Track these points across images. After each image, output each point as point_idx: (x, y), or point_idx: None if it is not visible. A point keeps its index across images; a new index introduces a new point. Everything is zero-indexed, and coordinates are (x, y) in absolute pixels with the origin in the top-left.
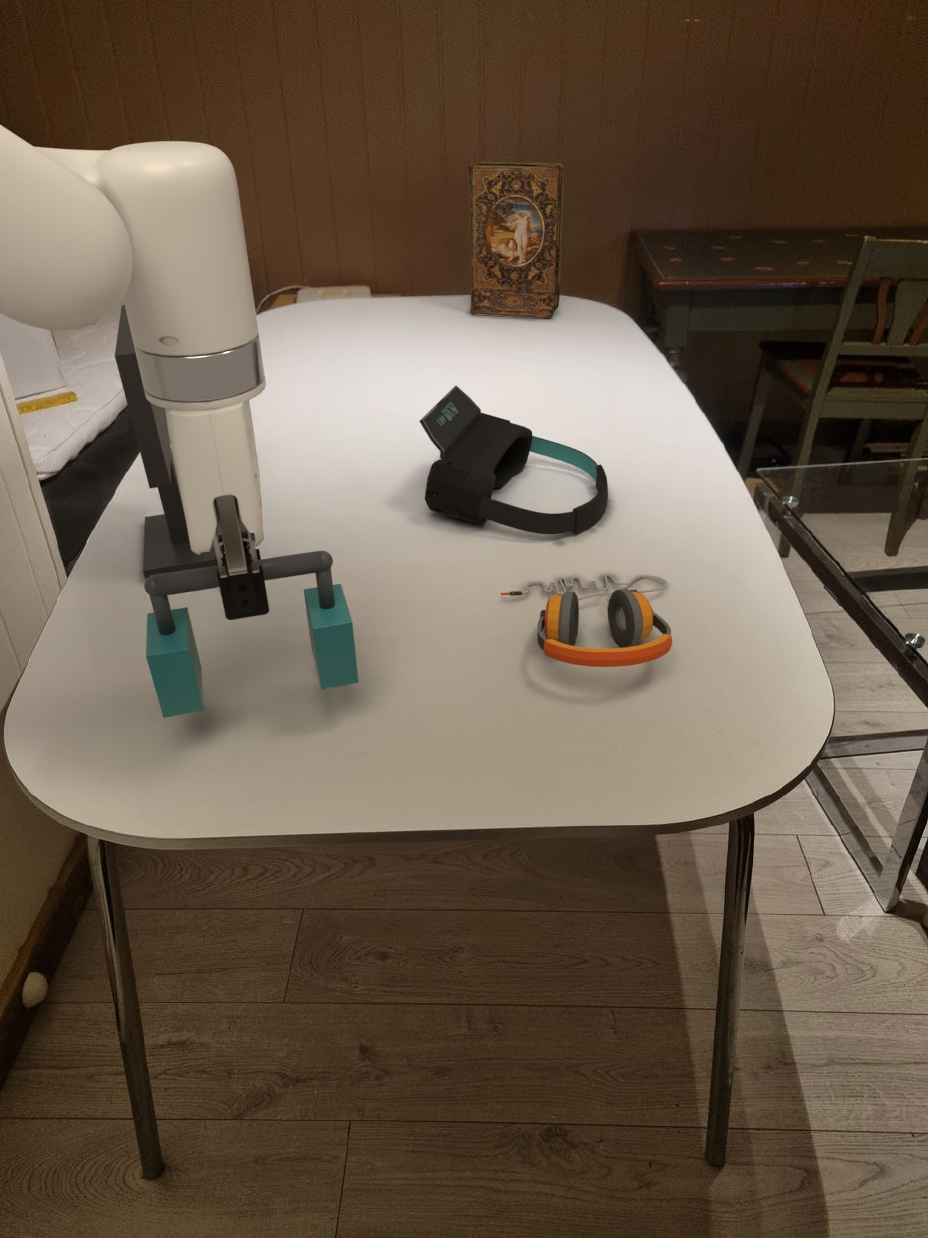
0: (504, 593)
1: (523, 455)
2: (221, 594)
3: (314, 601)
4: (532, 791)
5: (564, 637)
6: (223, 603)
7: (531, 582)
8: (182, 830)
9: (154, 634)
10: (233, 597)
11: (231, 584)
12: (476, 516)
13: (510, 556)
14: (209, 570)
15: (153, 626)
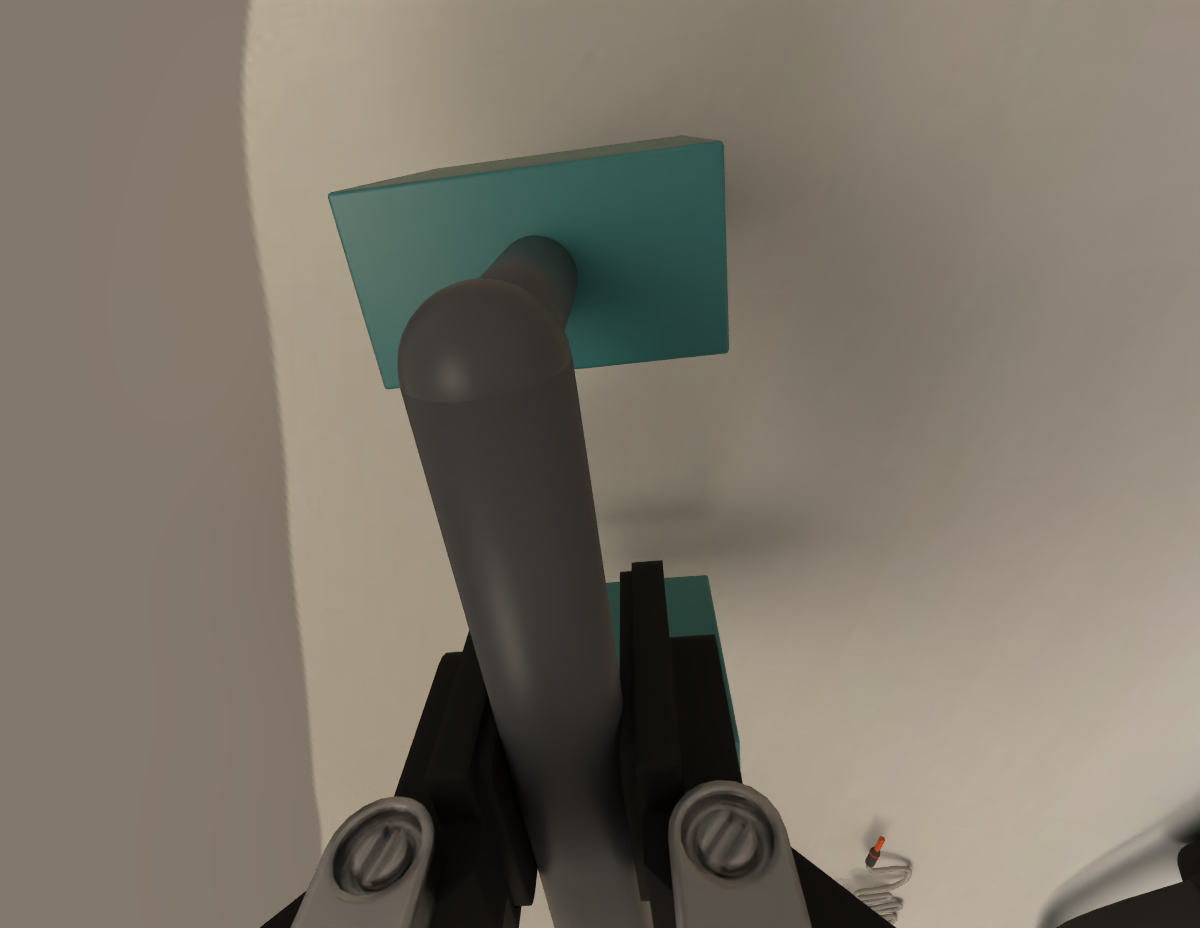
0: (878, 845)
1: None
2: (457, 671)
3: None
4: (371, 769)
5: None
6: None
7: (908, 873)
8: (258, 202)
9: (508, 214)
10: (421, 718)
11: (400, 790)
12: (1190, 877)
13: (1027, 857)
14: (522, 724)
15: (580, 199)
